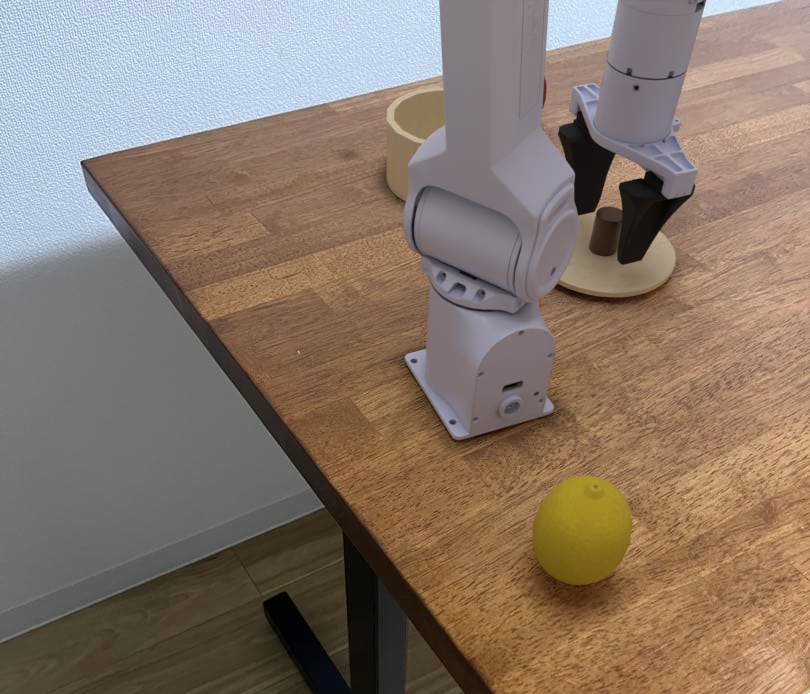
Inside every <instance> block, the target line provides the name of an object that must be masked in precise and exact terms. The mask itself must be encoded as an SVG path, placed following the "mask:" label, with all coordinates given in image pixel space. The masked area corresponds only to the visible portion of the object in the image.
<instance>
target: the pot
mask: <svg viewBox="0 0 810 694" xmlns="http://www.w3.org/2000/svg"><path fill="white" fill-rule="evenodd" d="M444 125H445V111H444V90H443V86H433V87H428V88H422V89H415V90H413V91H410V92H407V93H406V94H403V95H401V96H399V97H397V98H395V100H394V101H392V103H390V105H389V106H388V107H387V108H386V182H387V186H388V188H389V189H390V190H391V192H392V193H393V194H394V195H395V196H396V197H397V198H398V199H400V200H402V201H403V202H406V199H407V196H408V189H409V173H408V164H409V162H410V161H411V159H412V157H413V156H414V154H415V153H416V151H417V150H418V148H419V147H420V146H421V144H422V143H423V142H424V141H425V140H426V139H427V138H428V137H429V136H430V135H431V134H432V133H434V132H435V131H436V130H438V129H439V128H441V127H442V126H444Z"/></svg>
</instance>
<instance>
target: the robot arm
mask: <svg viewBox="0 0 810 694" xmlns="http://www.w3.org/2000/svg"><path fill="white" fill-rule="evenodd" d="M706 3H707V0H617V4H616V10H615V14H614V20H613V25H612V30H611V35H610V40H609V44H608V49H607V54H606V59H605V64H604V69H603V74H602V79H601V85H600V86H599V85H598V84H596V83H595V82H592V83H585V84H580V85H574V86H572V88H571V89H572V90H571V95H570V101H569V106H568V111H569V112H570V114H572V115H573V116H575V118H574V119H573V122H570V123H565V124H562V125H560V126H559V128H558V131H557V136H558V139H559V141H560V144H561V147H562V149H563V154H564V155H563V154H562V153H561V152H560V151H559V149H558V148H557V146H556V145H555V144H554V143H553V142H552V140H551V139H550V138H549V136H548V135H547V134H546V132H545V131H544V129H543V127H542V123H543V122H542V118H543V109H542V106H543V90H544V77H545V73H546V70H545V69H546V59H547V58H546V55H547V54H546V53H547V41H548V26H549V25H548V24H549V7H550V0H438V5H439V25H440V26H439V27H440V28H439V29H440V46H441V65H442V67H441V68H442V84H443V85H442V87H443V90H444V111H445V125H444V126H442V127H441V128H439V129H438V130H436V131H435V132H434V133H432V134H431V135H430V136H429V137H428V138H427V139H426V140H425V141H424V142H423V143H422V144H421V146H420V147H419V148H418V150H417V151H416V153H415V154H414V156H413V157H412V159H411V161H410V162H409V164H408V173H409V189H408V196H407V199H406V201H405V202H404V204H405V205H404V210H403V217H402V222H403V232H404V238H405V242H406V244H407V246H408V248H410V250H411V251H412V252H414V253H416V254H418V255H420V266H419V267H420V269H419V271H420V272H421V273H422V274H424V275H426V276H427V277H428V278H429V282H428V302H427V318H426V319H427V321H426V341H425V349H420V350H416V351H412V352H409V353H407V354H405V357H404V362H405V364H406V366H407V367H408V369H409V370H410V372H411V374H412V375H413V377H414V378H415V380H416V381H417V384H418V385H419V387H420V388H421V390H422V391H423V393H424V395H425V396H426V398H427V399H428V401H429V402H430V404H431V406H432V407H433V409H434V411H435V412H436V414H437V415H438V417H439V419H440V421H441V422H442V423H443V425H444V426H445V428H446V430H447V432H448V433H449V435H450V436H451V438H452V439H453V440H455V441H462V440H466V439H469V438H472V437H476V436H479V435H483V434H487V433H490V432H494V431H497V430H500V429H504V428H507V427H510V426H514V425H518V424H521V423H525V422H527V421H531V420H535V419H538V418H541V417H545V416H548V415H551V414H553V412H554V410H555V405H554V404H553V403H552V401H551V400H550V398H549V397H548V396H547V395H548V390H549V387H550V382H551V377H552V372H553V367H554V363H555V358H556V351H557V345H556V340H555V337H554V336H553V334H552V332H551V330H550V329H549V328H548V326H547V324H546V322H545V319H544V317H543V314H542V311H541V307H540V301H539V300H540V299H541V298H544V297H545V296H547V295H548V294H550V292H551V291H552V290H553V289H555V288H556V286H557V285H558V282H559V280H560V279H561V277H562V275H563V274H564V272H565V270H566V268H567V266H568V264H569V262H570V260H571V257H572V255H573V252H574V249H575V246H576V242H577V238H578V233H579V218H578V216H579V215H584V214H588V213H592V212H595V210H597V208H598V205H599V204H600V202H601V201H600V200H601V198H602V195H603V191H604V187H605V184H606V180H607V177H608V174H609V171H610V169H611V166H612V164H613V161H614V158H615V156H616V155H618V156H620V157H622V158H624V159H626V160H628V161H630V162H632V163H635V164H637V166H639V167H640V168H642V170H644V171H645V173H644V176H643V178H642V177H639V178H635V179H630V180H625V181H621V182H619V183H618V191H619V195H620V201H621V210H622V226H621V232H620V237H619V243H618V249H617V261H618V262H619V263H620V264H621V265H625V264H629V263H633V262H637V261H641V260H642V259H643V257H644V256H645V254H646V252H647V250H648V249H649V247H650V245H651V244H652V242H653V240H654V239H655V237H656V236H657V234H658V233H659V231H660V232H661V230H662V228H663V227H664V226H665V225H666V223H667V222H668V221H669V219H670V218H671V217H672V216H673V215H674V214H675V212H677V211H678V210H679V208H681V206H683V205H684V204H685V203H686V202H688V200H690V199H691V198H692V197H693V196H694V193H695V189H696V183H695V181H696V179H697V175H698V172H699V168H698V167H697V166H695V164H693V163H692V161H691V160H690V159H689V157H688V156H687V154H686V152H685V150H684V148H683V145H682V144H681V141H680V140H679V138H678V136H677V134H676V133H677V132H679V131H680V129H681V125H682V120H681V119H680V118H679V117H677V116H676V112H677V107H678V105H679V101H680V97H681V93H682V91H683V90H682V89H683V86H684V82H685V78H686V75H687V71H688V68H689V65H690V62H691V58H692V54H693V50H694V47H695V43H696V40H697V35H698V32H699V28H700V25H701V21H702V18H703V14H704V10H705V7H706Z"/></svg>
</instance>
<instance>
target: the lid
mask: <svg viewBox="0 0 810 694" xmlns="http://www.w3.org/2000/svg"><path fill="white" fill-rule="evenodd" d="M578 218H579V233H578V238H577V242H576V246H575V249H574V252H573V255H572V257H571V260H570V262H569V264H568V266H567V268H566V270H565V272H564V274H563V275H562V277H561V279H560V280H559V282H558V283H557V285H560V286H562V287H563V288H566V289H568V290H571V291H573V292H577V293H581V294H584V295H589V296H594V297H602V298H627V297H634V296H640V295H643V294H646V293H649V292H651V291H653V290H656V289H658V288H659V287H661V286H662V285H664V284H665V283H666V282H667V281H668V280H669V279H670V278H671V276H672V274H673V272H674V269H675V268H676V267H675V266H676V262H677V256H676V255H677V254H676V251H675V248H674V246H673V243H671V241H670V240H669V238H667V236H666V235H665V234H664V233H663V232H661V230H660V231H659V233H658V234H657V236H656V237H655V239H654V240H653V242H652V244H651V245H650V247H649V249H648V250H647V252H646V254H645V256H644V257H643V259H642V260H641V261H637V262H633V263H629V264H625V265H621V264H620V263H619V262H618V261H617V249H618V243H619V237H620V232H621V226H622V208H618V207H616V206H602V207H599V208H598V209H596V210H595V212H592V213H588V214H584V215H579V216H578Z"/></svg>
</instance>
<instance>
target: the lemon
mask: <svg viewBox="0 0 810 694" xmlns="http://www.w3.org/2000/svg"><path fill="white" fill-rule="evenodd" d="M632 529H633V517H632V513H631V508H630V505H629V503H628V501H627V499H626V497H625V495H624V494H623V492H622V491H621V490H620V489H619V488H618V487H617V486H616V485H614V484H613V483H612V482H610V481H609V480H606V479H605V478H601V477H598V476H595V475H578V476H577V475H576V476H572V477H569V478H566V479H564V480H562V481H560V482H559V483H558V484H557V485H555V486H554V487H552V488H551V490H550V491H549V492H548V493H547V495H546V496H545V497H544V499H542V501H541V503H540V505H539V507H538V509H537V511H536V514H535V516H534V520H533V523H532V533H531V542H532V543H531V544H532V548H533V551H534V556H535V557H536V560H537V562H538V563H539V564H540V566H541V568H542V569H543V570H544V571H545V572H546V573H547V574H548V575H549V576H551V577H552V578H553V579H555V580H557V581H560V582H563V583H564V584H568V585H574V586H586V585H590V584H594V583H597V582H599V581H601V580H604V579H605V578H606V577H608V576H610V574H611V573H613V572H614V570H616V568H617V567H619V565H620V564H621V563H622V561H623V559H624V557H625V555H626V554H627V552H628V549H629V546H630V543H631V538H632V537H631V536H632Z"/></svg>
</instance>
